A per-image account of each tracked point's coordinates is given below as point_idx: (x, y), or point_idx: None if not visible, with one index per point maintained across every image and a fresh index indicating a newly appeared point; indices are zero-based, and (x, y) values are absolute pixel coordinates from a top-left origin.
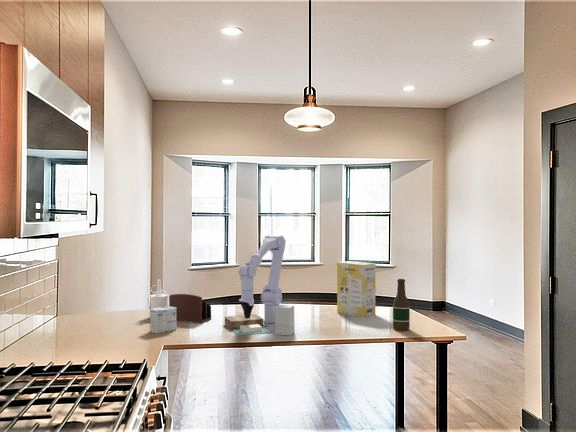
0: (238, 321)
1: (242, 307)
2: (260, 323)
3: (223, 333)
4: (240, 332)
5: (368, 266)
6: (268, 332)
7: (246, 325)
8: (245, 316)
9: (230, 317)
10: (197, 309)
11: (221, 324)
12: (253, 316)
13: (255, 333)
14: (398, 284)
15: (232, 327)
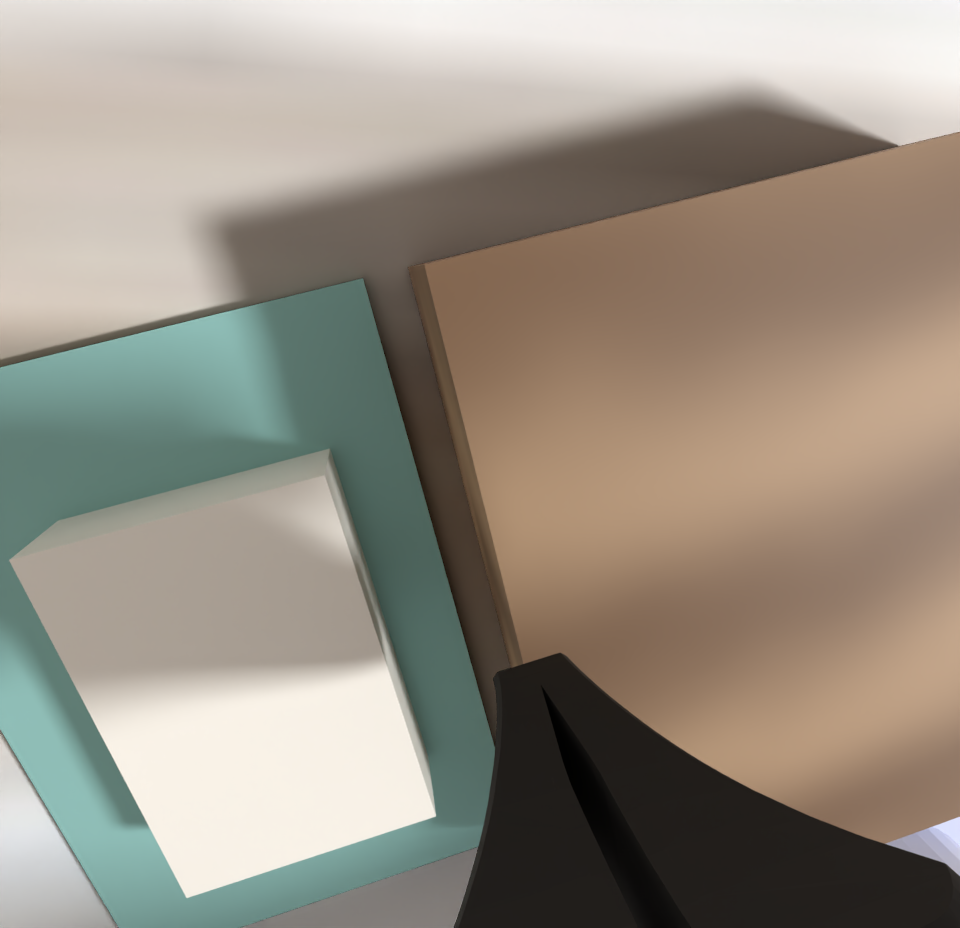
0: (474, 465)
1: (753, 834)
2: None
3: (62, 46)
4: (86, 458)
5: None
6: (118, 916)
7: (332, 617)
8: (498, 705)
9: (933, 265)
10: None
11: (951, 71)
12: (853, 772)
13: (6, 736)
14: None
15: (419, 294)
